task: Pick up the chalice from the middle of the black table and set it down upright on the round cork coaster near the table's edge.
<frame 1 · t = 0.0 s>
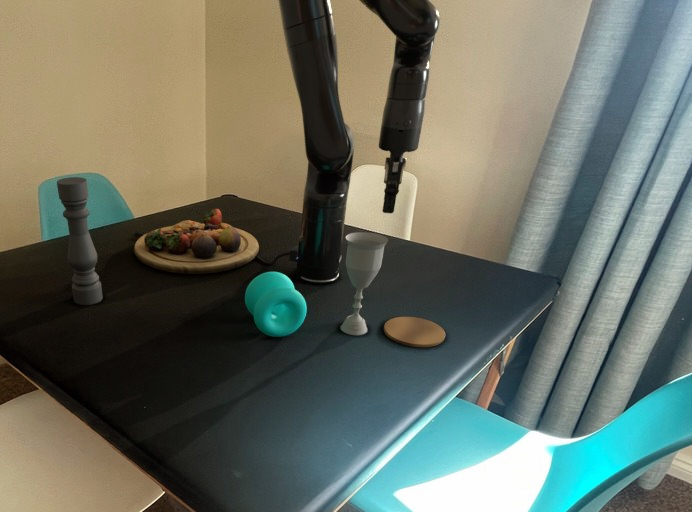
hand: (388, 206, 116), 17 cm above the table, tool pointing down, fingers open, 8 cm apart
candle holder: (88, 299, 119), on the table
chalice: (353, 329, 106), on the table
coaster: (413, 332, 105), on the table
turquoise spool: (273, 328, 107), on the table
wooden plate: (196, 252, 143), on the table
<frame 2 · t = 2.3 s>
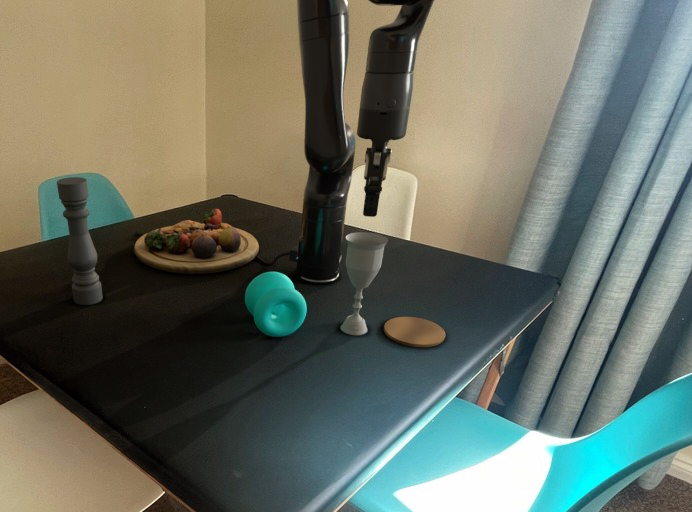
hand: (371, 208, 94), 23 cm above the table, tool pointing down, fingers open, 8 cm apart
nothing on the table moved.
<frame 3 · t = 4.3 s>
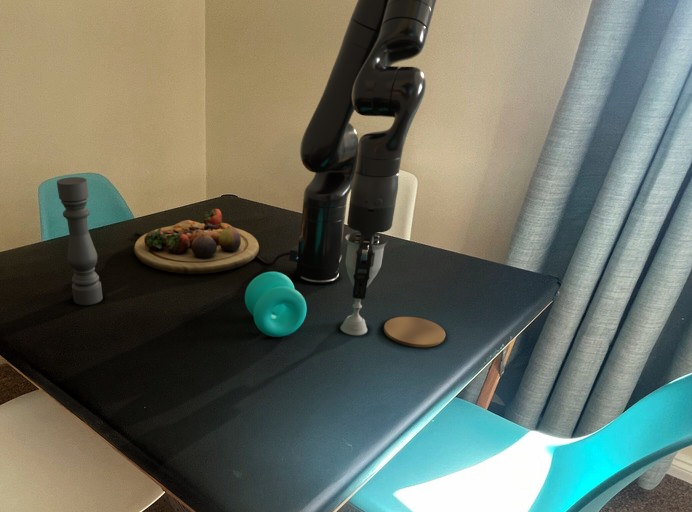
hand: (359, 290, 102), 8 cm above the table, tool pointing down, fingers closed on chalice, 6 cm apart
chalice: (353, 329, 106), on the table, touching gripper
everything else where it was.
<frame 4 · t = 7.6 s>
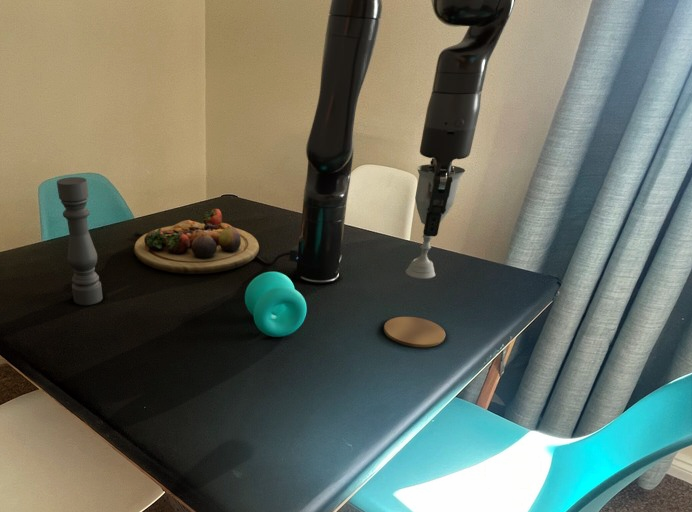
hand: (429, 229, 94), 20 cm above the table, tool pointing down, fingers closed on chalice, 5 cm apart
chalice: (420, 273, 99), point 12 cm above the table, touching gripper
everything else where it was.
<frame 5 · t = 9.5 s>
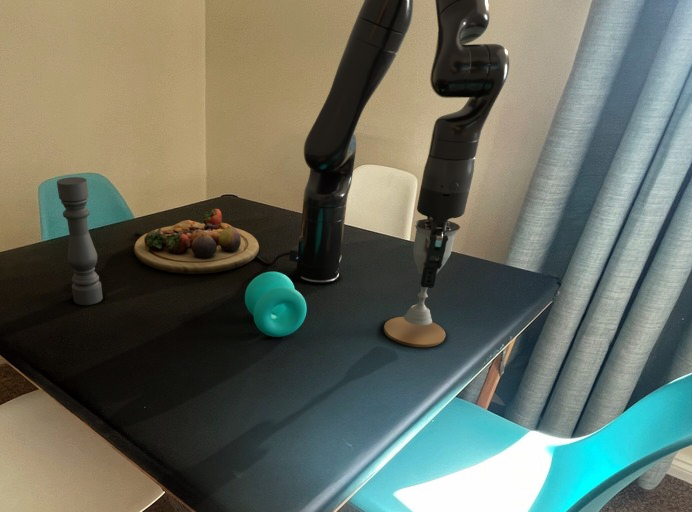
hand: (426, 279, 99), 11 cm above the table, tool pointing down, fingers closed on chalice, 6 cm apart
chalice: (417, 320, 104), point 3 cm above the table, touching gripper
everything else where it was.
when the fingers open (9 cm above the table, at t = 10.7 s): chalice stays where it is, resting on coaster.
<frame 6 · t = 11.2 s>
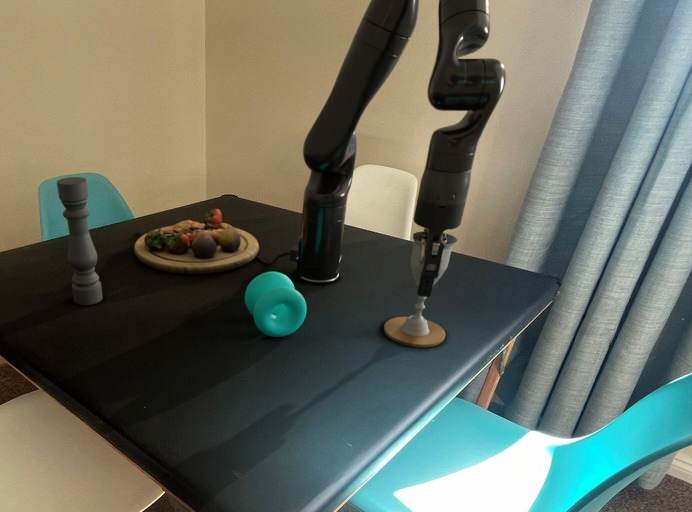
hand: (423, 286, 100), 10 cm above the table, tool pointing down, fingers open, 8 cm apart
chalice: (414, 330, 105), resting on coaster
everything else where it was.
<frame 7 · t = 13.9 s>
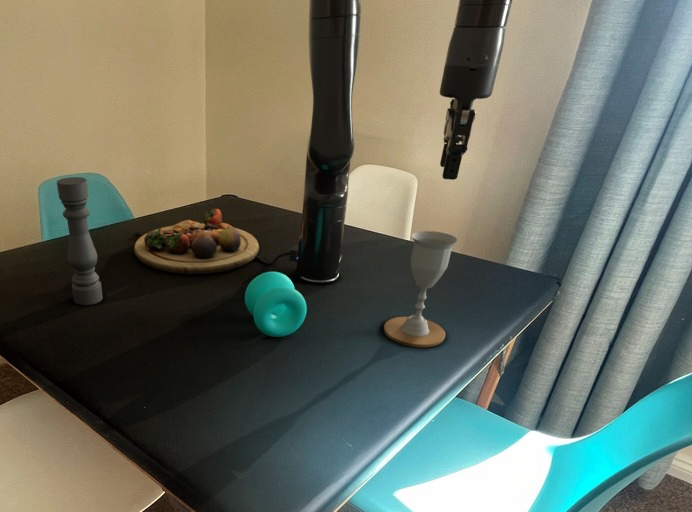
hand: (447, 172, 92), 29 cm above the table, tool pointing down, fingers open, 8 cm apart
nothing on the table moved.
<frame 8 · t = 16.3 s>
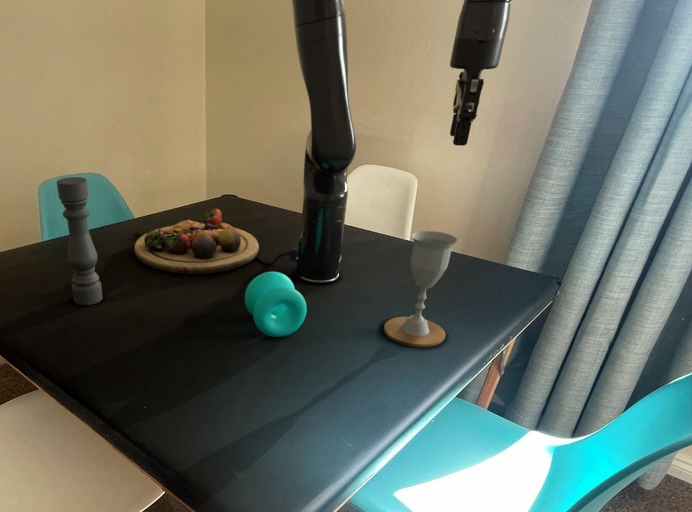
hand: (457, 140, 99), 32 cm above the table, tool pointing down, fingers open, 8 cm apart
nothing on the table moved.
at the end: chalice 0.2 cm off-centre on the coaster, point 0.4 cm above the coaster's base; chalice tilted 0°; the gripper is holding nothing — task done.
